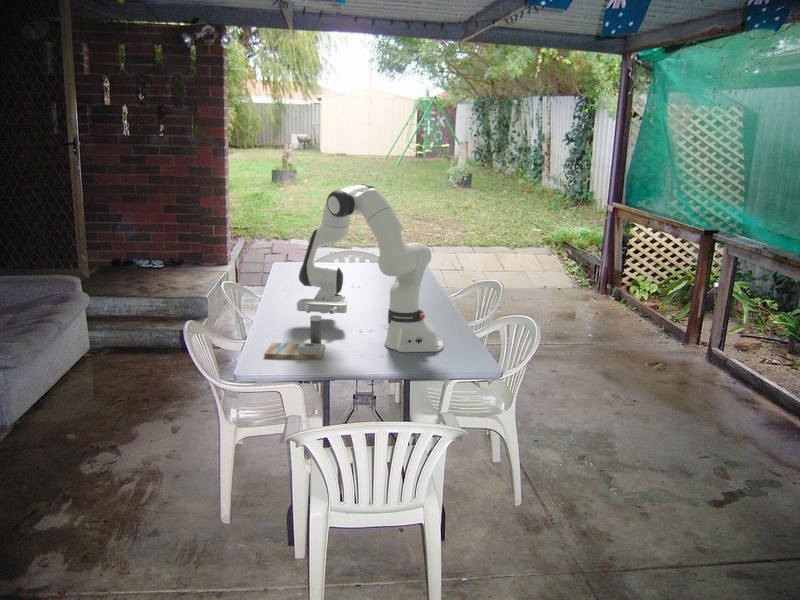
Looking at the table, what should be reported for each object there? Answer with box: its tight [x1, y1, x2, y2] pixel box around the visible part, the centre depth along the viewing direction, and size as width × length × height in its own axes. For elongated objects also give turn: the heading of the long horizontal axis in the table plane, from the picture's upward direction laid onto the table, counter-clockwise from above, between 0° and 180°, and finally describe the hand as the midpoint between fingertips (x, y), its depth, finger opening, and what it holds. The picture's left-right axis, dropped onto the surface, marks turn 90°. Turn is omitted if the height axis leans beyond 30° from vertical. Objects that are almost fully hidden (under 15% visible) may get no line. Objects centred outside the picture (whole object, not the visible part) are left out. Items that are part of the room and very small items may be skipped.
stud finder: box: [298, 342, 323, 355], centre depth 245 cm, size 8×4×3 cm, turn 89°
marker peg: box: [309, 314, 322, 344], centre depth 258 cm, size 4×4×11 cm
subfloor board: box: [264, 342, 326, 361], centre depth 249 cm, size 20×13×2 cm, turn 89°
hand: (319, 311), depth 270 cm, fingers open, 8 cm apart
